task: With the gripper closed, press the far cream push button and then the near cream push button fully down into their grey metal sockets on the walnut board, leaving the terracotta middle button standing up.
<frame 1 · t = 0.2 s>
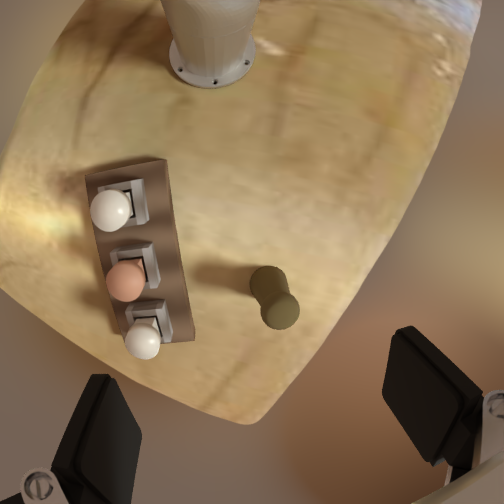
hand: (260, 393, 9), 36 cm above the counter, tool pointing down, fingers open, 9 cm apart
button board: (142, 257, 44), on the counter
button middle: (128, 276, 36), point 8 cm above the counter, slide at 0.0 cm
cork: (268, 283, 48), on the counter
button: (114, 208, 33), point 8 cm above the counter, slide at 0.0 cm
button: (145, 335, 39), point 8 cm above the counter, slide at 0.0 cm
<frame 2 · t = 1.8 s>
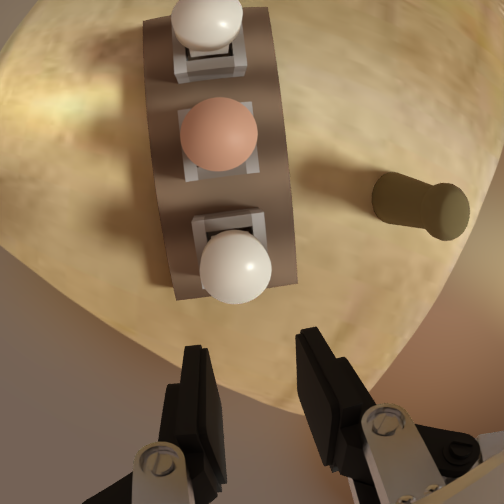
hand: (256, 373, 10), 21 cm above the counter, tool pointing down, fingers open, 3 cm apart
button board: (218, 145, 27), on the counter
button middle: (218, 137, 19), point 8 cm above the counter, slide at 0.0 cm
cork: (392, 198, 31), on the counter
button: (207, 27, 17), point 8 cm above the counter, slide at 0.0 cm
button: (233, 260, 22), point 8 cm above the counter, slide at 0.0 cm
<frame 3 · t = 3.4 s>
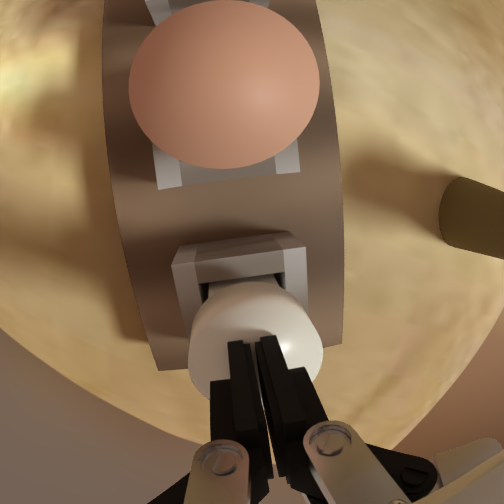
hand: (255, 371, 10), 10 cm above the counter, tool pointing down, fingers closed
button board: (220, 127, 16), on the counter
button middle: (222, 96, 9), point 8 cm above the counter, slide at 0.0 cm
cork: (460, 212, 20), on the counter
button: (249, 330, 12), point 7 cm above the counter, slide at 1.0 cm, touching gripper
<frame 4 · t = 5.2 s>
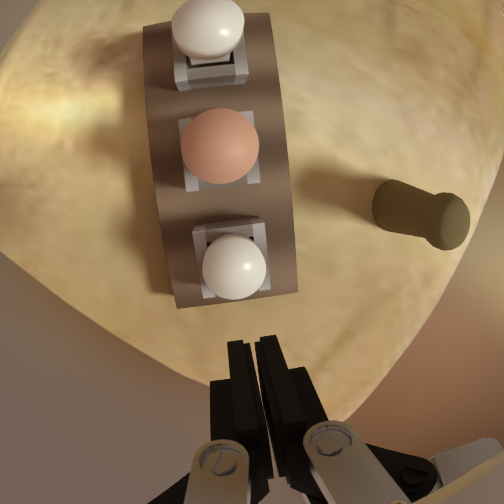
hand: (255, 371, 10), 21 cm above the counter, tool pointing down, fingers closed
button board: (218, 154, 27), on the counter
button middle: (219, 148, 20), point 8 cm above the counter, slide at 0.0 cm
cork: (393, 205, 31), on the counter
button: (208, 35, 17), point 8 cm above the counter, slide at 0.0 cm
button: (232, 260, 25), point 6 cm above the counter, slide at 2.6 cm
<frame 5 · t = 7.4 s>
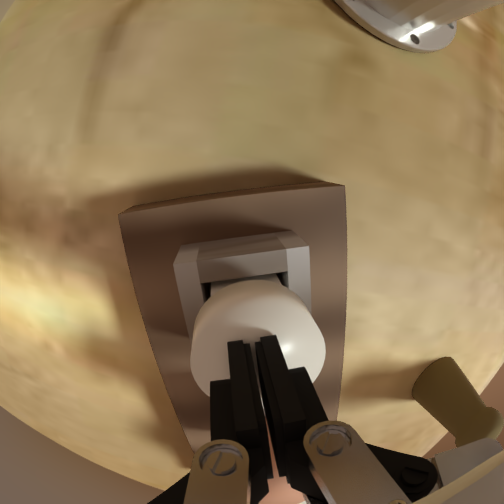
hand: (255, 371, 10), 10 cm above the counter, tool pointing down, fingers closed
button board: (254, 376, 22), on the counter
button middle: (270, 461, 14), point 8 cm above the counter, slide at 0.0 cm
cork: (433, 378, 25), on the counter
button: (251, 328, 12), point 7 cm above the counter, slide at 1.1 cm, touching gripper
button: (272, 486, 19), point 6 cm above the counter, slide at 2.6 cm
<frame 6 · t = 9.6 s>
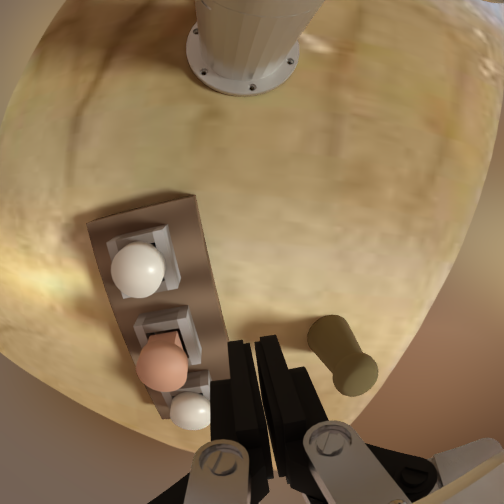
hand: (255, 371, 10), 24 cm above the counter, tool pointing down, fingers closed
button board: (173, 319, 35), on the counter
button middle: (164, 358, 27), point 8 cm above the counter, slide at 0.0 cm
cork: (328, 333, 38), on the counter
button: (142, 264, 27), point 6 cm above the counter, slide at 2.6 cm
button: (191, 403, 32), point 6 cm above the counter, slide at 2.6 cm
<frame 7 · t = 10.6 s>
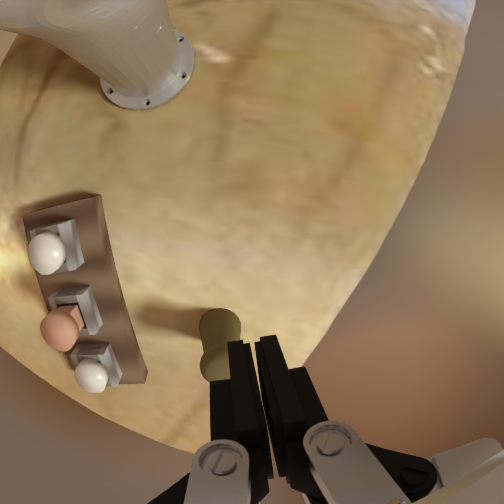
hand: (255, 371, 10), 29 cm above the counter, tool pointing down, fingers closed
button board: (87, 297, 38), on the counter
button middle: (64, 324, 30), point 8 cm above the counter, slide at 0.0 cm
cork: (220, 326, 42), on the counter
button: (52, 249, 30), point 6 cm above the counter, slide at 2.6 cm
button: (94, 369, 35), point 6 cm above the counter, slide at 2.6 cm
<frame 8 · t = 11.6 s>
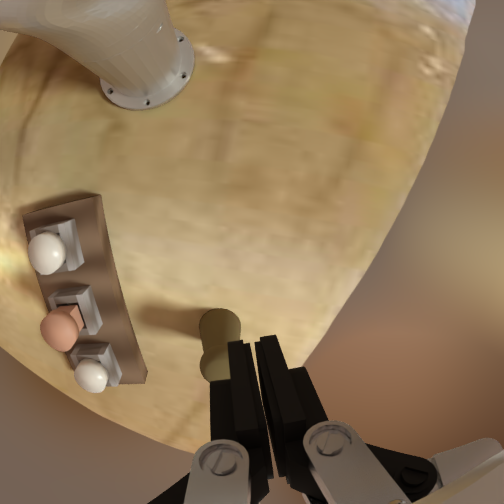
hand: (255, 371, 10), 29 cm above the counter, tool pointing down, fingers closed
button board: (87, 297, 38), on the counter
button middle: (64, 324, 30), point 8 cm above the counter, slide at 0.0 cm
cork: (220, 326, 42), on the counter
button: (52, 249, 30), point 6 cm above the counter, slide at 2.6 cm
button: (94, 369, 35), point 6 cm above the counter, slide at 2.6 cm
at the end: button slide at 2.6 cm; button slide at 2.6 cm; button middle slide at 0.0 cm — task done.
